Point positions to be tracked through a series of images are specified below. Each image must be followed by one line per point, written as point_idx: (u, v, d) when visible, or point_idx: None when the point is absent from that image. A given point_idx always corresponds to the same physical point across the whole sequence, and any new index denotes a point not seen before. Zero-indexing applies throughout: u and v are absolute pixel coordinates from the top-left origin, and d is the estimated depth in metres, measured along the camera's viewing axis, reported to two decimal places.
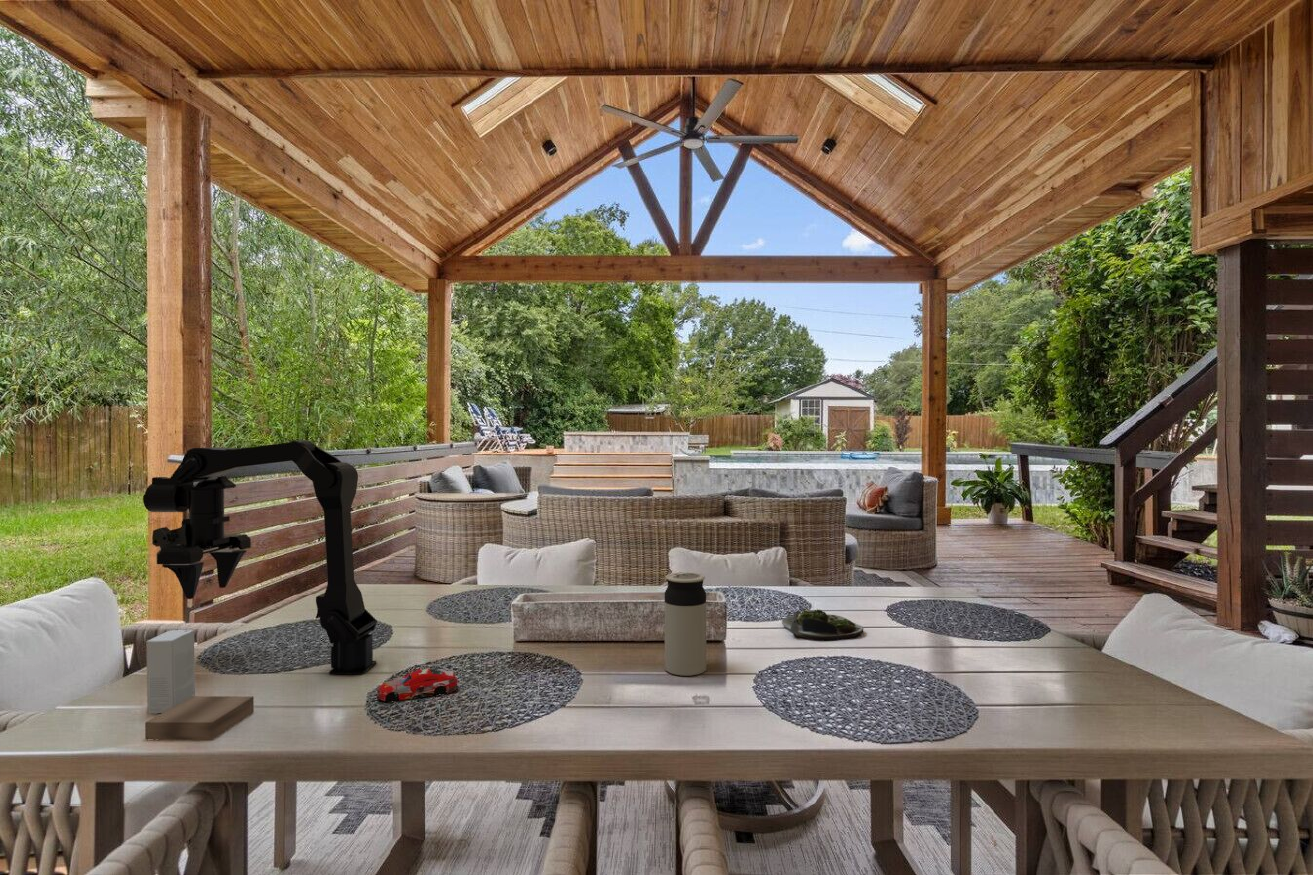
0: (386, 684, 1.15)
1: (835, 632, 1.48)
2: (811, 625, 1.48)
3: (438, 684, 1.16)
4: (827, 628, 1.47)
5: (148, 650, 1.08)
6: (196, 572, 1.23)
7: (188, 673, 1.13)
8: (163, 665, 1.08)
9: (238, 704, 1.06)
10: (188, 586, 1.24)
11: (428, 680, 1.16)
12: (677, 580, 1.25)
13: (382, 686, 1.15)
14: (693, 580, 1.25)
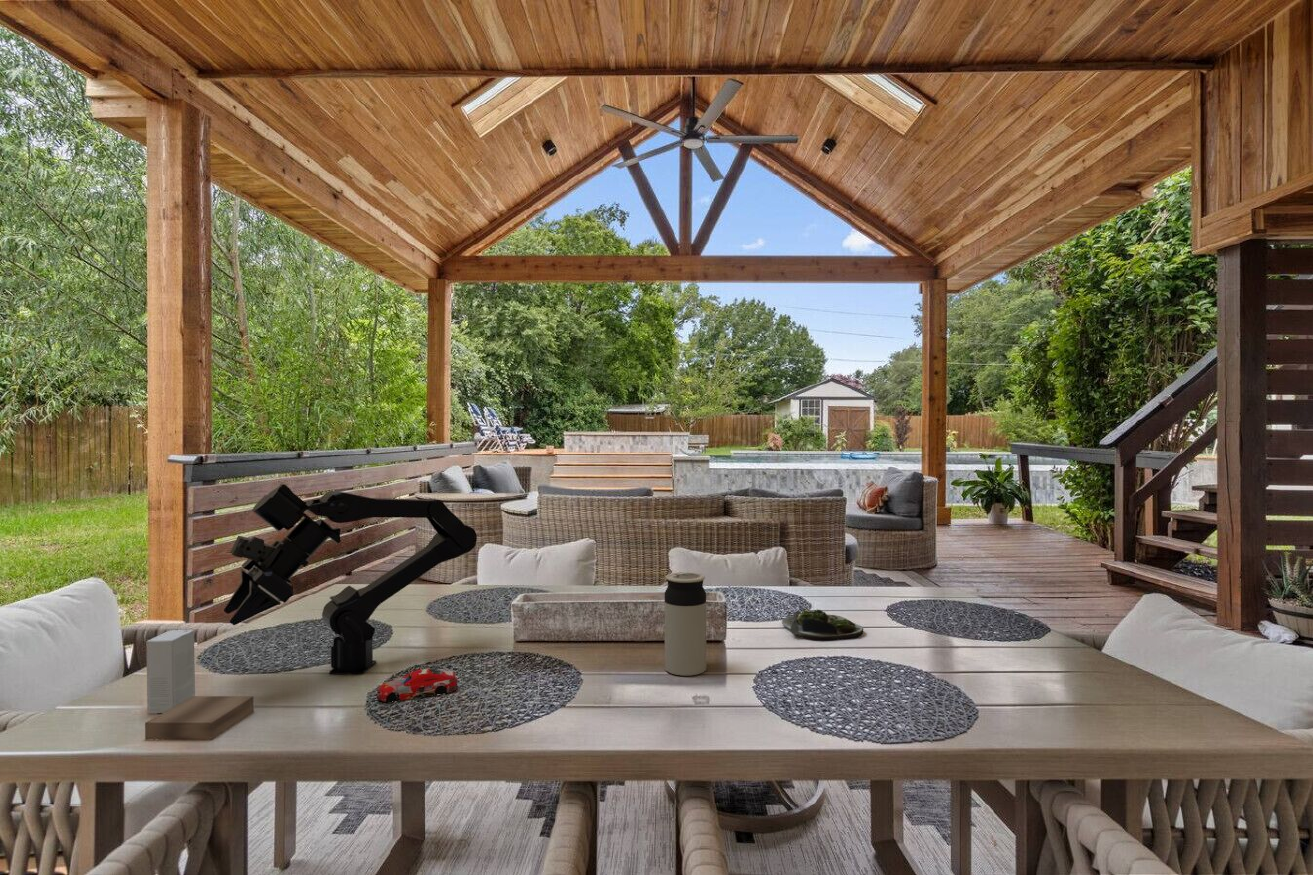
0: (385, 684, 1.15)
1: (835, 632, 1.48)
2: (811, 625, 1.48)
3: (439, 684, 1.16)
4: (827, 628, 1.47)
5: (148, 650, 1.08)
6: (269, 608, 1.15)
7: (188, 673, 1.13)
8: (163, 665, 1.08)
9: (238, 704, 1.06)
10: (246, 613, 1.13)
11: (429, 680, 1.16)
12: (677, 580, 1.25)
13: (382, 687, 1.14)
14: (693, 580, 1.25)
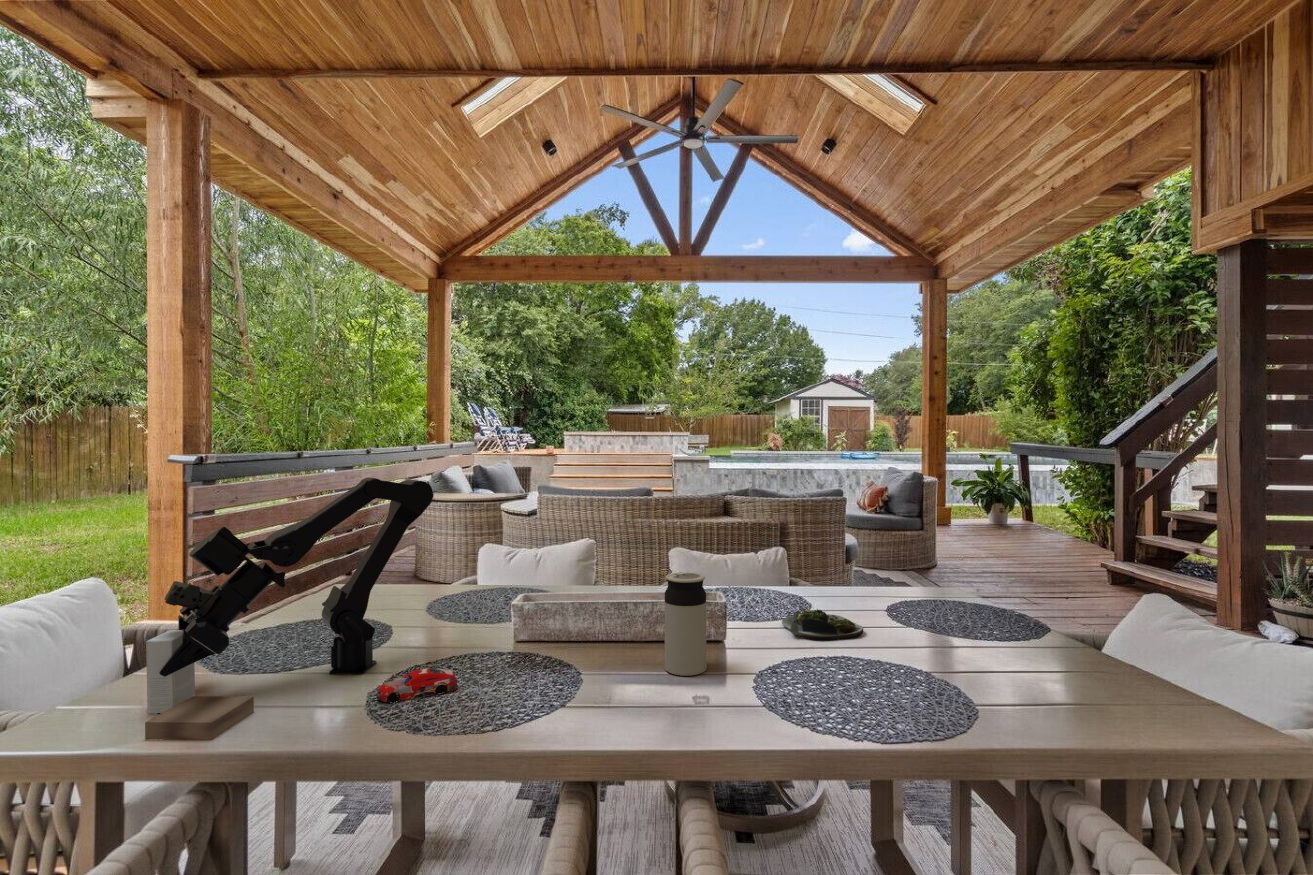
0: (385, 684, 1.15)
1: (835, 632, 1.48)
2: (811, 625, 1.48)
3: (439, 683, 1.16)
4: (827, 628, 1.47)
5: (148, 650, 1.08)
6: None
7: (188, 673, 1.13)
8: (163, 665, 1.08)
9: (238, 705, 1.06)
10: (177, 664, 1.08)
11: (429, 679, 1.16)
12: (677, 580, 1.25)
13: (382, 687, 1.14)
14: (693, 580, 1.25)
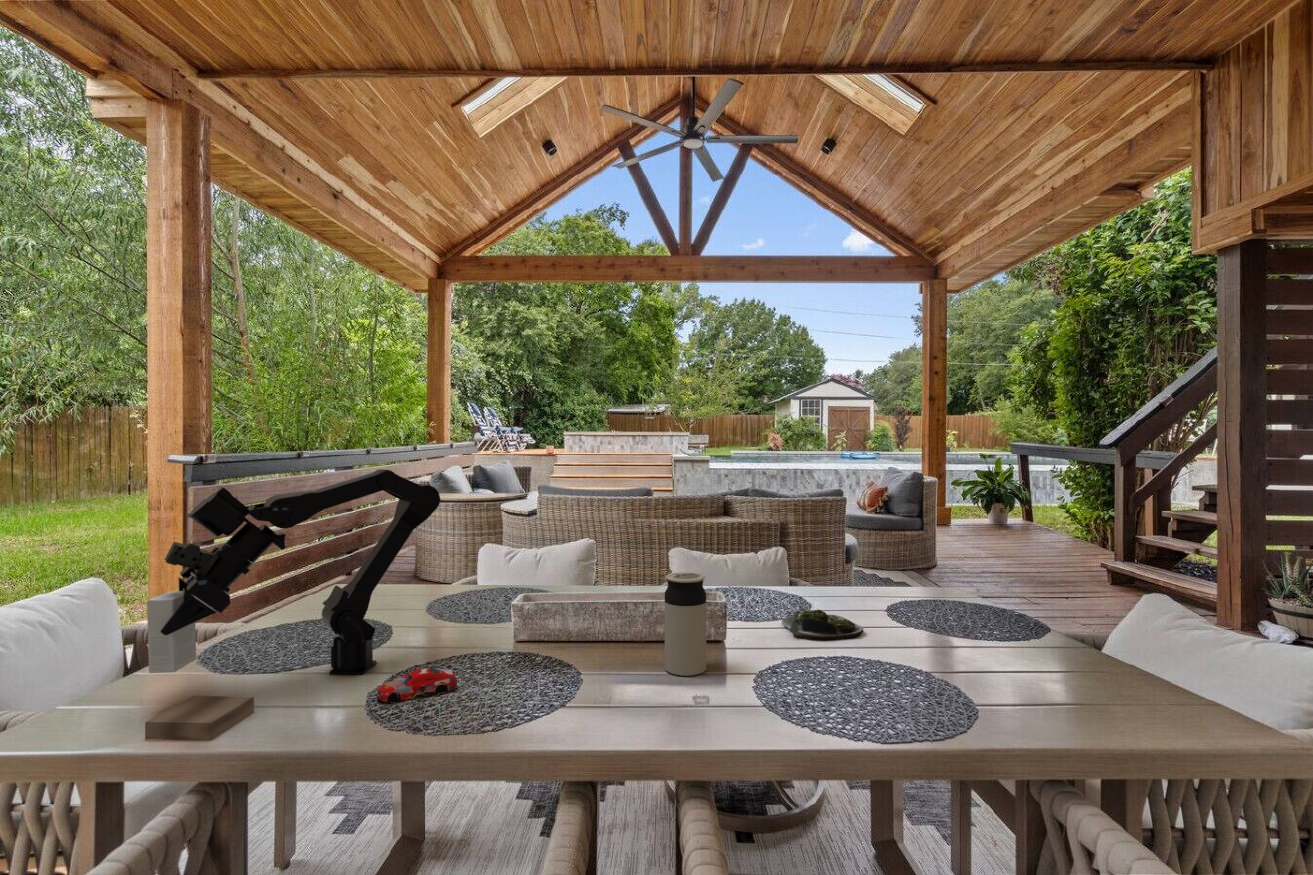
0: (385, 685, 1.15)
1: (835, 632, 1.48)
2: (811, 625, 1.48)
3: (439, 683, 1.16)
4: (827, 628, 1.47)
5: (149, 609, 1.08)
6: None
7: (189, 633, 1.13)
8: (164, 624, 1.08)
9: (238, 705, 1.06)
10: (178, 623, 1.08)
11: (429, 679, 1.16)
12: (677, 580, 1.25)
13: (382, 687, 1.14)
14: (693, 580, 1.25)
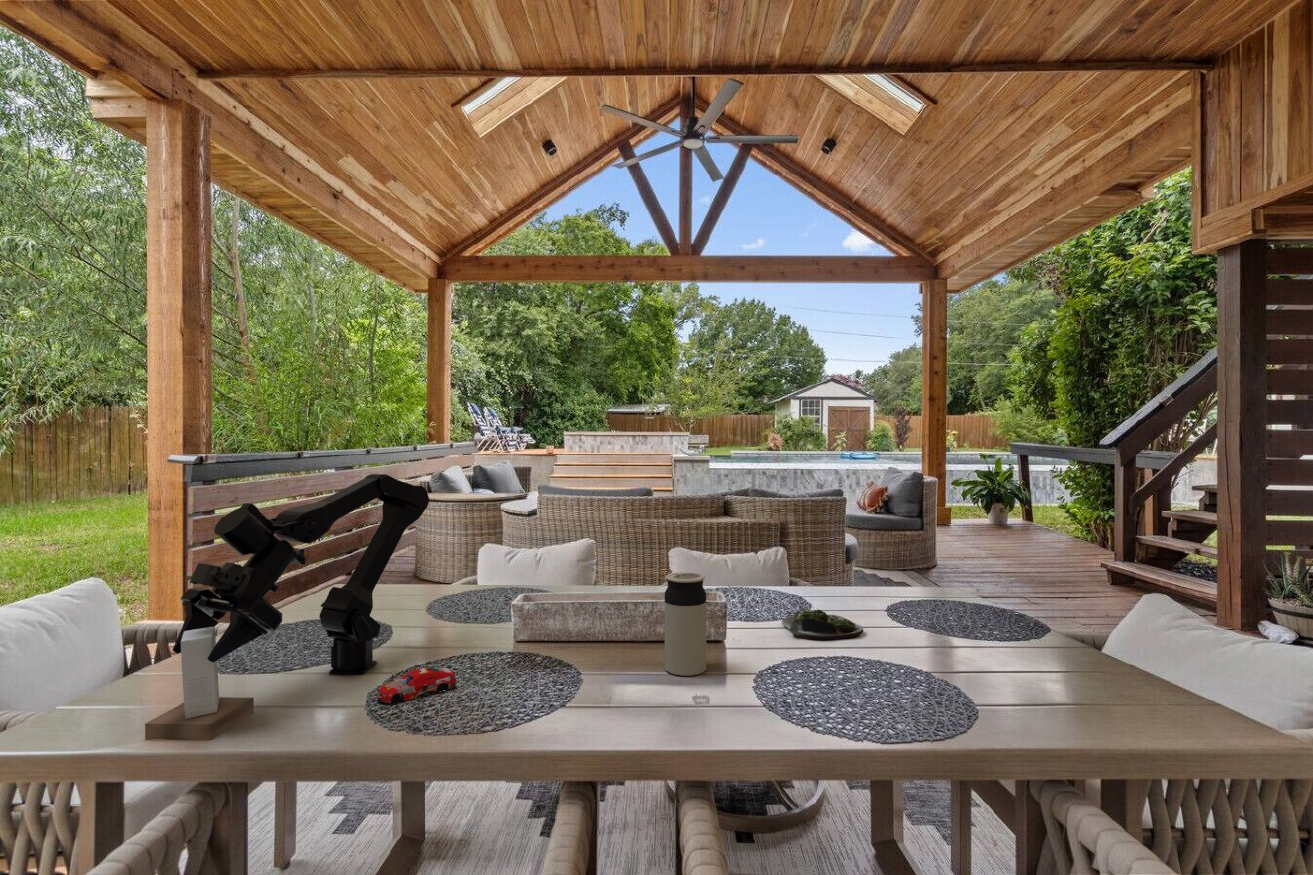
0: (386, 686, 1.14)
1: (834, 632, 1.48)
2: (810, 624, 1.48)
3: (440, 681, 1.17)
4: (827, 628, 1.47)
5: (184, 650, 1.01)
6: None
7: (216, 671, 1.06)
8: (203, 664, 1.02)
9: (238, 706, 1.06)
10: (227, 648, 1.02)
11: (430, 678, 1.17)
12: (677, 580, 1.25)
13: (383, 689, 1.13)
14: (693, 580, 1.25)
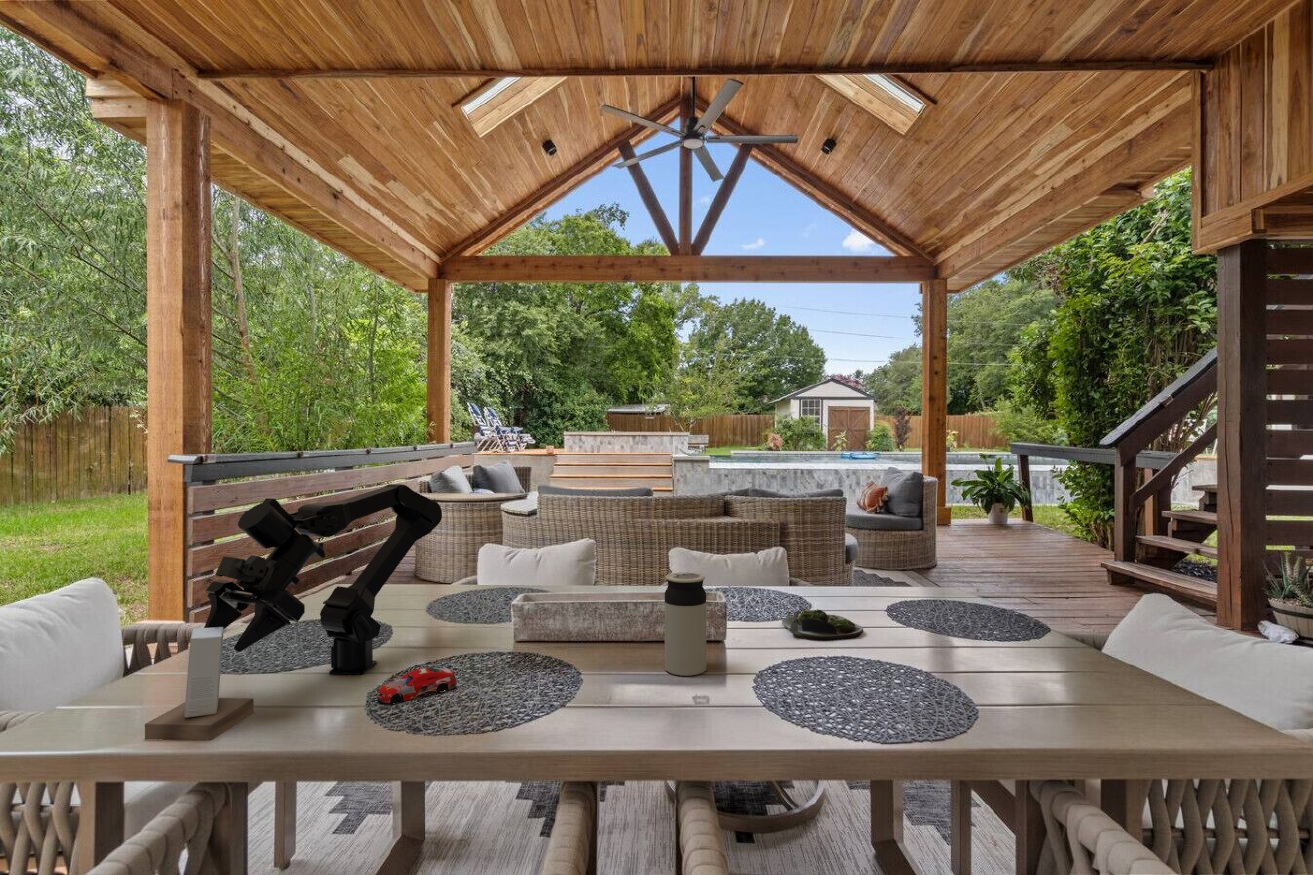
0: (386, 686, 1.14)
1: (834, 632, 1.48)
2: (810, 624, 1.48)
3: (440, 681, 1.17)
4: (827, 628, 1.47)
5: (192, 648, 1.01)
6: None
7: None
8: (209, 663, 1.02)
9: (238, 707, 1.05)
10: (252, 638, 1.06)
11: (430, 679, 1.16)
12: (677, 580, 1.25)
13: (383, 689, 1.13)
14: (693, 580, 1.25)
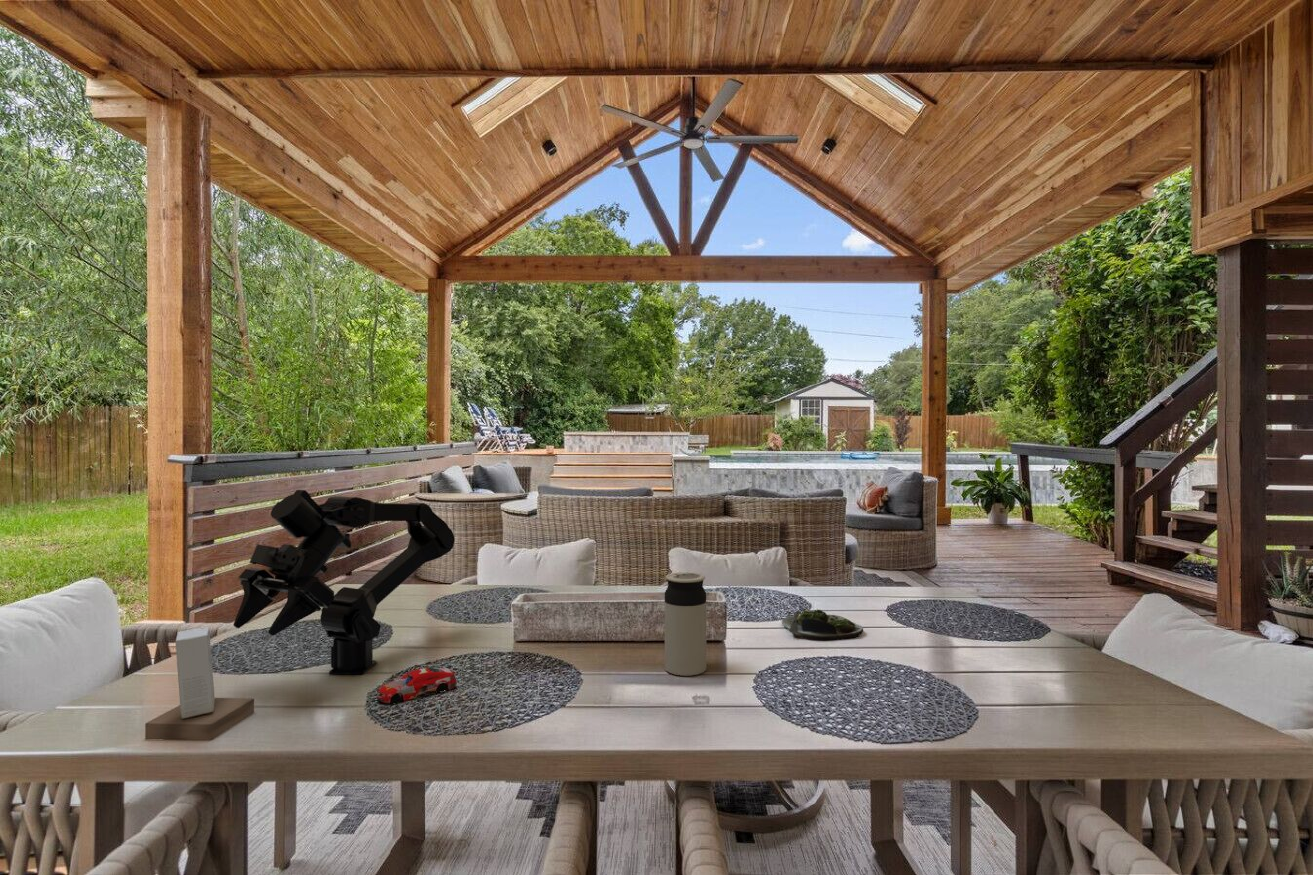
0: (386, 686, 1.14)
1: (834, 632, 1.48)
2: (810, 624, 1.48)
3: (440, 681, 1.17)
4: (827, 628, 1.47)
5: (179, 650, 1.01)
6: None
7: None
8: (198, 663, 1.02)
9: (238, 706, 1.06)
10: (285, 622, 1.11)
11: (430, 678, 1.16)
12: (677, 580, 1.25)
13: (383, 689, 1.13)
14: (693, 580, 1.25)
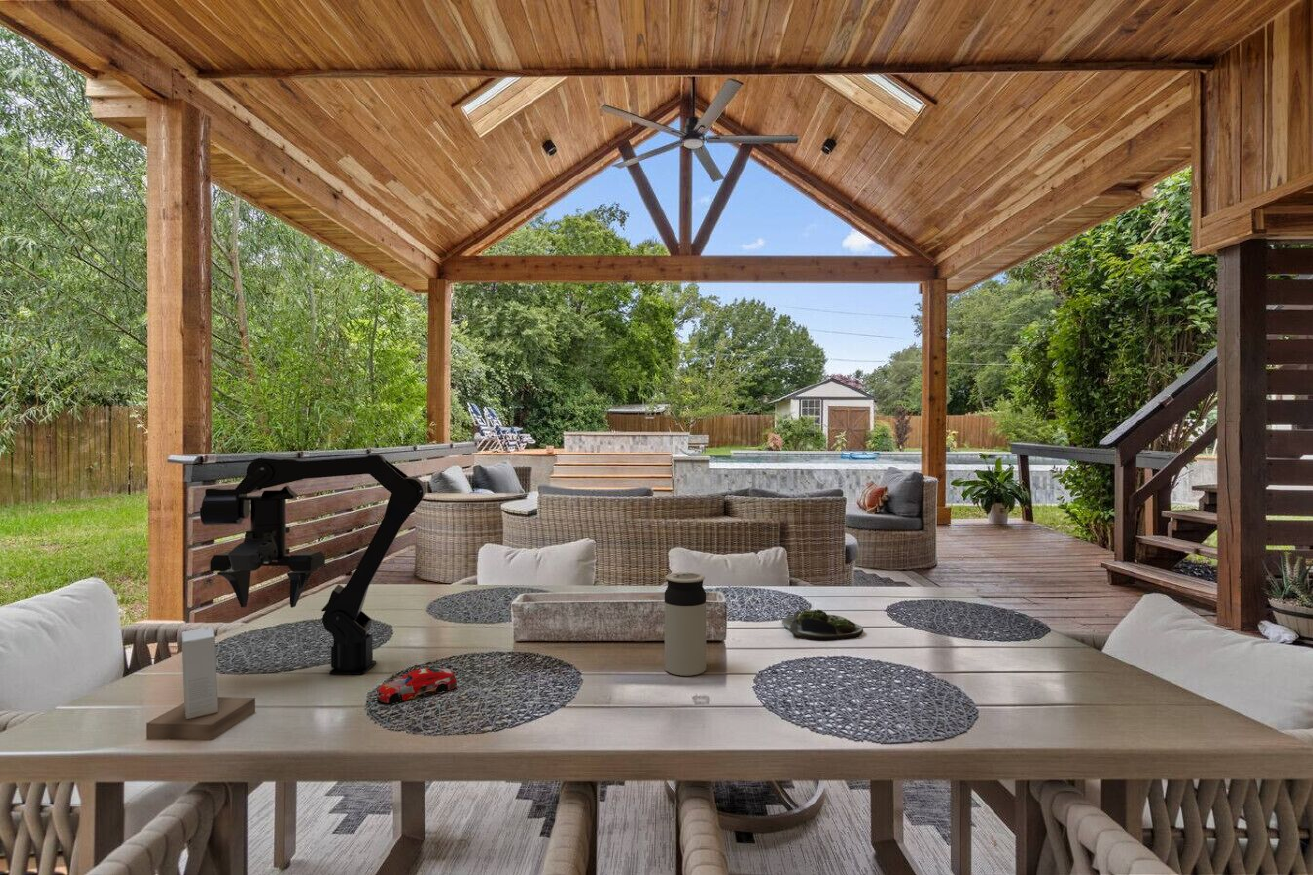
0: (385, 686, 1.14)
1: (834, 632, 1.48)
2: (810, 624, 1.48)
3: (440, 682, 1.17)
4: (826, 628, 1.47)
5: (186, 651, 1.00)
6: None
7: None
8: (204, 664, 1.02)
9: (239, 706, 1.06)
10: (298, 593, 1.26)
11: (430, 679, 1.16)
12: (677, 580, 1.25)
13: (382, 688, 1.14)
14: (693, 580, 1.25)
